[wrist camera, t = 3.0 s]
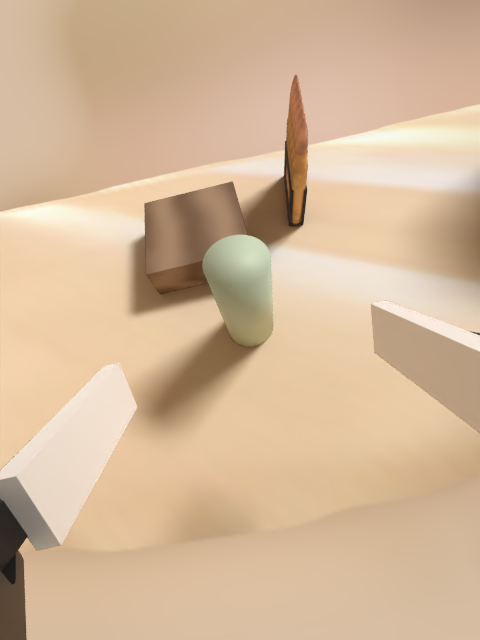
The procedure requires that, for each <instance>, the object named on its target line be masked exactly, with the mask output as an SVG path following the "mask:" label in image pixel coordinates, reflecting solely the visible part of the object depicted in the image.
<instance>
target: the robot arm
mask: <svg viewBox="0 0 480 640" xmlns="http://www.w3.org/2000/svg"><path fill="white" fill-rule="evenodd" d="M371 313H372V325H373V338H374V351H375V354H377V355H378V356H379V357H381V358H382V359H383V360H385V361H386V362H387V363H389V364H390V365H391V366H392V367H394V368H395V369H396V370H398V371H399V372H400V373H402V374H403V375H404V376H406V377H407V378H408V379H409V380H411V381H412V382H413V383H415V384H416V385H417V386H419V387H420V388H421V389H423V390H424V391H425V392H427V393H428V394H429V395H430V396H432V397H433V398H434V399H436V400H437V401H438V402H440V403H441V404H442V405H444V406H445V407H446V408H448V409H449V410H450V411H451V412H453V413H454V414H455V415H457V416H458V417H459V418H461V419H462V420H463V421H465V422H466V423H467V424H469V425H470V426H471V427H472V428H474V429H475V430H476V431H478V432H479V433H480V333H475V332H470V331H467V330H464V329H461V328H458V327H456V326H453V325H450V324H448V323H445V322H442V321H440V320H437V319H434V318H432V317H429V316H426V315H424V314H421V313H418V312H416V311H413V310H410V309H408V308H405V307H402V306H400V305H397V304H394V303H392V302H389V301H386V300H385V301H381V302H377V303H373V304H371ZM136 409H137V405H136V402H135V400H134V398H133V395H132V393H131V390H130V388H129V386H128V383H127V381H126V378H125V376H124V374H123V371H122V369H121V366H120V364H119V363H115V364H111V365H107V366H104V367H103V368H102V369H101V370H100V371H99V372H98V373H97V374H96V375H95V376H94V377H93V378H92V379H91V380H90V381H89V382H88V383H87V384H86V385H85V386H84V387H83V388H82V389H81V390H80V391H79V392H78V393H77V394H76V395H75V396H74V397H73V398H72V399H71V400H70V401H69V402H68V403H67V404H66V405H65V406H64V407H63V408H62V409H61V410H60V411H59V412H58V413H57V414H56V415H55V416H54V417H53V418H52V419H51V420H50V421H49V422H48V423H47V424H46V425H45V426H44V427H43V428H42V429H41V430H40V431H39V432H38V433H37V434H36V435H35V436H34V437H33V438H32V439H31V440H30V441H29V442H28V443H27V444H26V445H25V446H24V447H23V448H22V449H21V450H20V451H19V452H18V453H17V454H16V455H15V456H14V457H13V458H12V459H11V460H10V461H9V462H8V463H7V464H6V465H5V466H4V467H3V468H2V469H1V470H0V640H26V619H25V618H26V616H25V591H24V590H25V589H24V562H23V561H24V560H23V558H22V555H21V554H20V552H19V551H18V549H19V548H20V546H21V545H22V544H23V542H24V541H25V539H26V538H28V539H29V540H30V542H31V543H32V545H33V546H34V548H35V549H36V550H42V549H47V548H51V547H56V546H61V545H62V543H63V541H64V539H65V537H66V536H67V534H68V532H69V530H70V528H71V527H72V525H73V523H74V521H75V519H76V518H77V516H78V514H79V512H80V510H81V508H82V507H83V505H84V503H85V501H86V499H87V498H88V496H89V494H90V492H91V490H92V488H93V487H94V485H95V483H96V481H97V479H98V478H99V476H100V474H101V472H102V470H103V469H104V467H105V465H106V463H107V461H108V459H109V458H110V456H111V454H112V452H113V450H114V449H115V447H116V445H117V443H118V441H119V440H120V438H121V436H122V434H123V432H124V430H125V429H126V427H127V425H128V423H129V421H130V420H131V418H132V416H133V414H134V412H135V410H136Z"/></svg>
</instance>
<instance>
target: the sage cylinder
mask: <svg viewBox="0 0 480 640" xmlns="http://www.w3.org/2000/svg"><path fill="white" fill-rule="evenodd" d="M202 266H203V272H204V274H205V277H206V279H207V282H208V284H209V286H210V289H211V291H212V293H213V296H214V298H215V301H216V303H217V305H218V308H219V310H220V312H221V315H222V317H223V320H224V322H225V324H226V327H227V329H228V331H229V334H230V336H231V338H232V339H233V340H234V341H235V342H237V343H238V344H240V345H243V346H248V347H251V346H257V345H260V344H262V343H263V342H265V341H266V340H267V339H268V338H269V337H270V335H271V333H272V330H273V304H272V275H271V255H270V251H269V249H268V247H267V246H266V245H265V244H264V243H263V242H262V241H261V240H259V239H257V238H255V237H253V236H249V235H232V236H228V237H225V238H223V239H221V240H219V241H217V242H216V243H214V244H213V245H212V246H211V247H210V248H209V249H208V251H207V252H206V254H205V256H204V258H203V264H202Z"/></svg>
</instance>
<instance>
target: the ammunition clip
mask: <svg viewBox="0 0 480 640" xmlns="http://www.w3.org/2000/svg"><path fill="white" fill-rule="evenodd" d="M307 148H308V130H307V124H306V119H305V113H304V107H303V103H302V97H301V91H300V86H299V80H298V77H297V75H295V77H294V79H293V82H292V87H291V92H290V103H289V114H288V119H287V138H286V141H285V166H284V179H285V189H286V199H287V209H288V220H289V226H295V225H303V222H304V213H305V204H306V195H307V186H306V179H307V169H308V162H307V153H308V150H307Z"/></svg>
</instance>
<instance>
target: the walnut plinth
mask: <svg viewBox="0 0 480 640" xmlns="http://www.w3.org/2000/svg"><path fill="white" fill-rule="evenodd" d="M232 235H248V234H247V231H246V227H245V223H244V220H243V216H242V213H241V209H240V206H239V202H238V198H237V195H236V191H235V188H234V184H233V182H229V183H225V184H221V185H217V186H213V187H209V188H205V189H201V190H197V191H193V192H189V193H185V194H181V195H176V196H172V197H168V198H164V199H160V200H156V201H152V202H148V203H145V257H146V275H147V277H148V278H149V279H150V281H151V282H152V283H153V285H154V286H155V287H156V289H157V290H158V291H159V293H160V294H162V293H167V292H171V291H175V290H179V289H184V288H188V287H192V286H196V285H201V284H205V283H208V282H207V279H206V277H205V274H204V272H203V266H202V264H203V258H204V256H205V254H206V252H207V251H208V249H209V248H210V247H211V246H212V245H213V244H214V243H216V242H217V241H219V240H221V239H223V238H225V237H228V236H232Z"/></svg>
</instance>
